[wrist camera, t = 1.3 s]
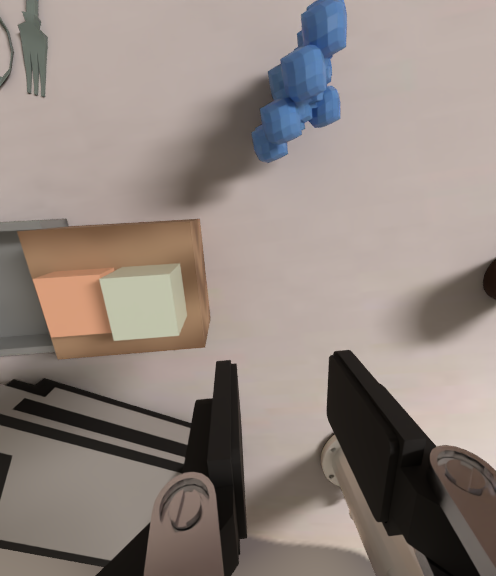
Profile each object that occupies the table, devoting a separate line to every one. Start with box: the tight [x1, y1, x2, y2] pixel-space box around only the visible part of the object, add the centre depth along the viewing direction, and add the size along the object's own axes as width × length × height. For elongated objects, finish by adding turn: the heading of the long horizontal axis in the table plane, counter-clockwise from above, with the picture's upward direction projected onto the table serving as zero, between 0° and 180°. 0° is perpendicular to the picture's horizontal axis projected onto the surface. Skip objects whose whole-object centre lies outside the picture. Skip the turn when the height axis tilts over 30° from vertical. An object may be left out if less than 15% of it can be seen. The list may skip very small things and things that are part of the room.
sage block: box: [99, 263, 187, 341], centre depth 21 cm, size 5×5×4 cm
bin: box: [0, 219, 69, 357], centre depth 27 cm, size 14×12×4 cm
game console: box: [0, 378, 191, 567], centre depth 33 cm, size 21×32×8 cm, turn 65°
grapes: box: [252, 0, 347, 163], centre depth 20 cm, size 12×7×12 cm, turn 153°
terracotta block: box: [33, 268, 114, 338], centre depth 21 cm, size 5×5×2 cm
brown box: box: [17, 219, 210, 359], centre depth 26 cm, size 12×14×7 cm
